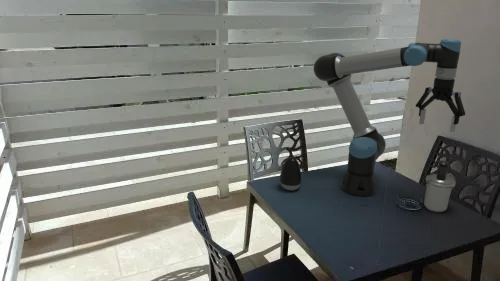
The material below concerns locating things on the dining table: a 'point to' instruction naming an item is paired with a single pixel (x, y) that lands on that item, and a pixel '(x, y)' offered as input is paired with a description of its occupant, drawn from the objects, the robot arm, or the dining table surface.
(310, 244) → the dining table surface
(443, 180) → the lid
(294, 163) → the black egg-shaped figure
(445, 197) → the mug
